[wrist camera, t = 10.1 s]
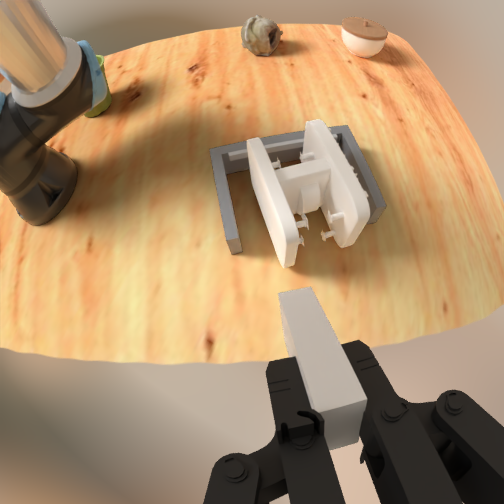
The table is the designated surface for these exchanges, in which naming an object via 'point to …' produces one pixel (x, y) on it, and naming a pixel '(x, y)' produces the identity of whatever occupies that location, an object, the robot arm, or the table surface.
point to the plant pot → (107, 101)
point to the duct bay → (285, 150)
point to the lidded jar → (363, 36)
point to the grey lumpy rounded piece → (260, 35)
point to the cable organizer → (308, 192)
